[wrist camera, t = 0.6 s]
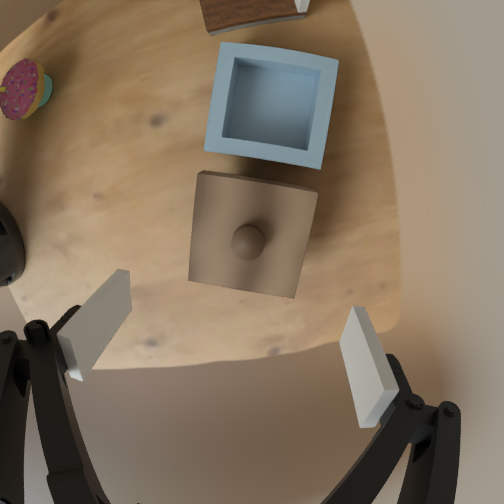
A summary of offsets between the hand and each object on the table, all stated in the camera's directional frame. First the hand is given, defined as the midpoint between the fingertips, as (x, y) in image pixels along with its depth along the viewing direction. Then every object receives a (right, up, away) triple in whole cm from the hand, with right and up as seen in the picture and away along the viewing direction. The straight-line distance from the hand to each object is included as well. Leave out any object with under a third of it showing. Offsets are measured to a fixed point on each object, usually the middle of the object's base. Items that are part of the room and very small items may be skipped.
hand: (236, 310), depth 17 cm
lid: (+1, +5, +14) cm, 15 cm away
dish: (+3, +19, +12) cm, 23 cm away
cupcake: (-28, +26, +12) cm, 40 cm away
